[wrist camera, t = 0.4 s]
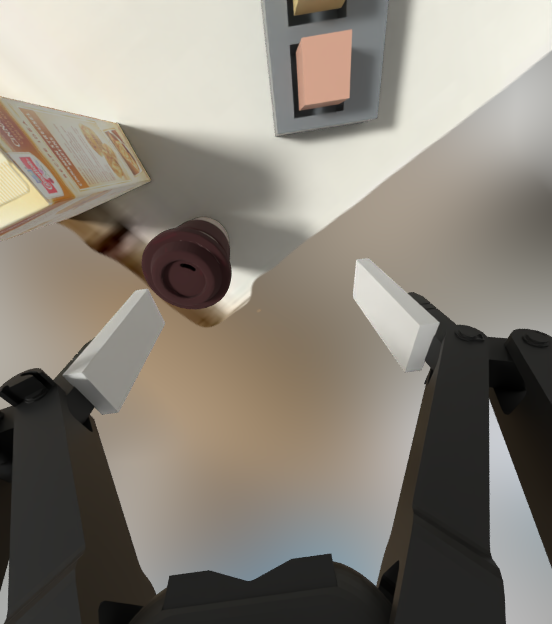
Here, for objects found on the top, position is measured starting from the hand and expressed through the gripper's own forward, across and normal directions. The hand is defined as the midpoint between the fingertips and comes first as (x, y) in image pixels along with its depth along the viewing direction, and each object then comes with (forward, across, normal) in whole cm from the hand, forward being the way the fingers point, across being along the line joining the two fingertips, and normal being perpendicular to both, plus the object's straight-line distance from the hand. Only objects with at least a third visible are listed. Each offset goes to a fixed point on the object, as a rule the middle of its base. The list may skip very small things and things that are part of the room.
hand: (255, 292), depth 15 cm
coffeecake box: (+26, -22, +8) cm, 35 cm away
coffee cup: (+26, -8, -3) cm, 27 cm away
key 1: (+22, +9, +13) cm, 27 cm away
